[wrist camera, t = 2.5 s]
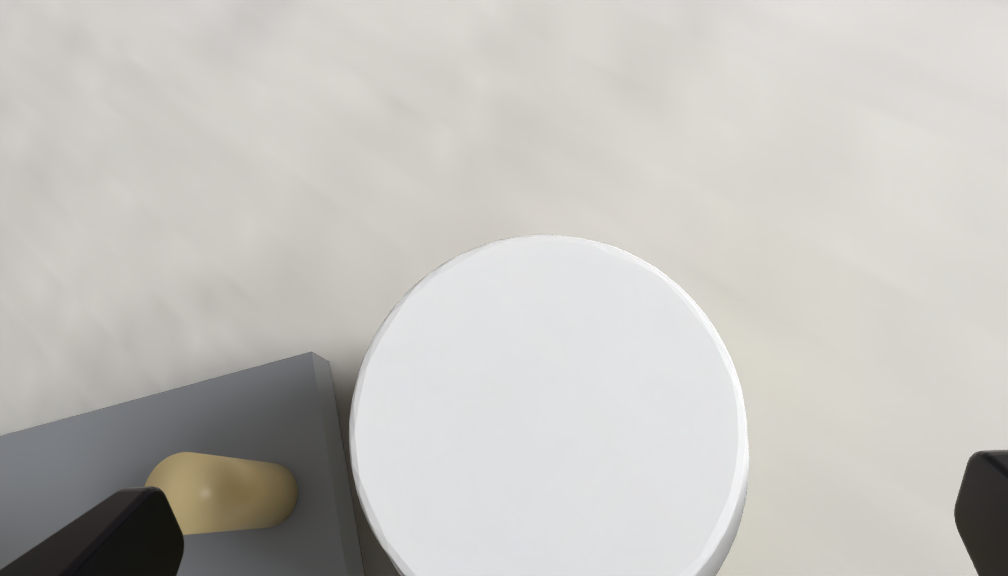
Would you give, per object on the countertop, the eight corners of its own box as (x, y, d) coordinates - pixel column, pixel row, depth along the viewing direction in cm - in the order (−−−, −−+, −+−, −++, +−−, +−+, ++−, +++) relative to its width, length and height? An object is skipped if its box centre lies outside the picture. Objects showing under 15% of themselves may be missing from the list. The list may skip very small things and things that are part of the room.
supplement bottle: (401, 476, 16) (168, 440, 7) (548, 313, 17) (518, 85, 8) (572, 647, 15) (571, 900, 5) (723, 459, 15) (947, 394, 6)
